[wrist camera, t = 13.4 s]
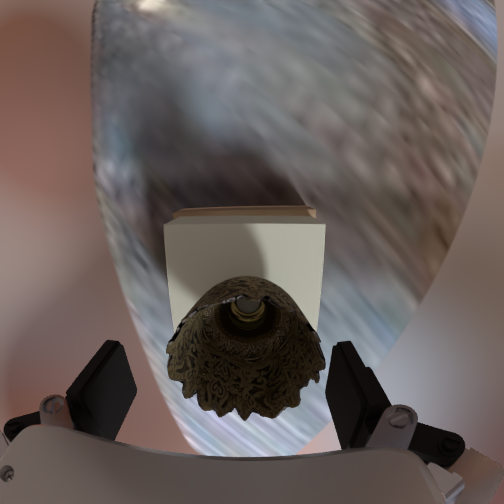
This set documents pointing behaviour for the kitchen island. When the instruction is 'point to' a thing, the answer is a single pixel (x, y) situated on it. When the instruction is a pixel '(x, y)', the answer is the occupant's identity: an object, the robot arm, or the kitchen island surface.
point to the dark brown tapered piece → (245, 350)
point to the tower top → (244, 258)
